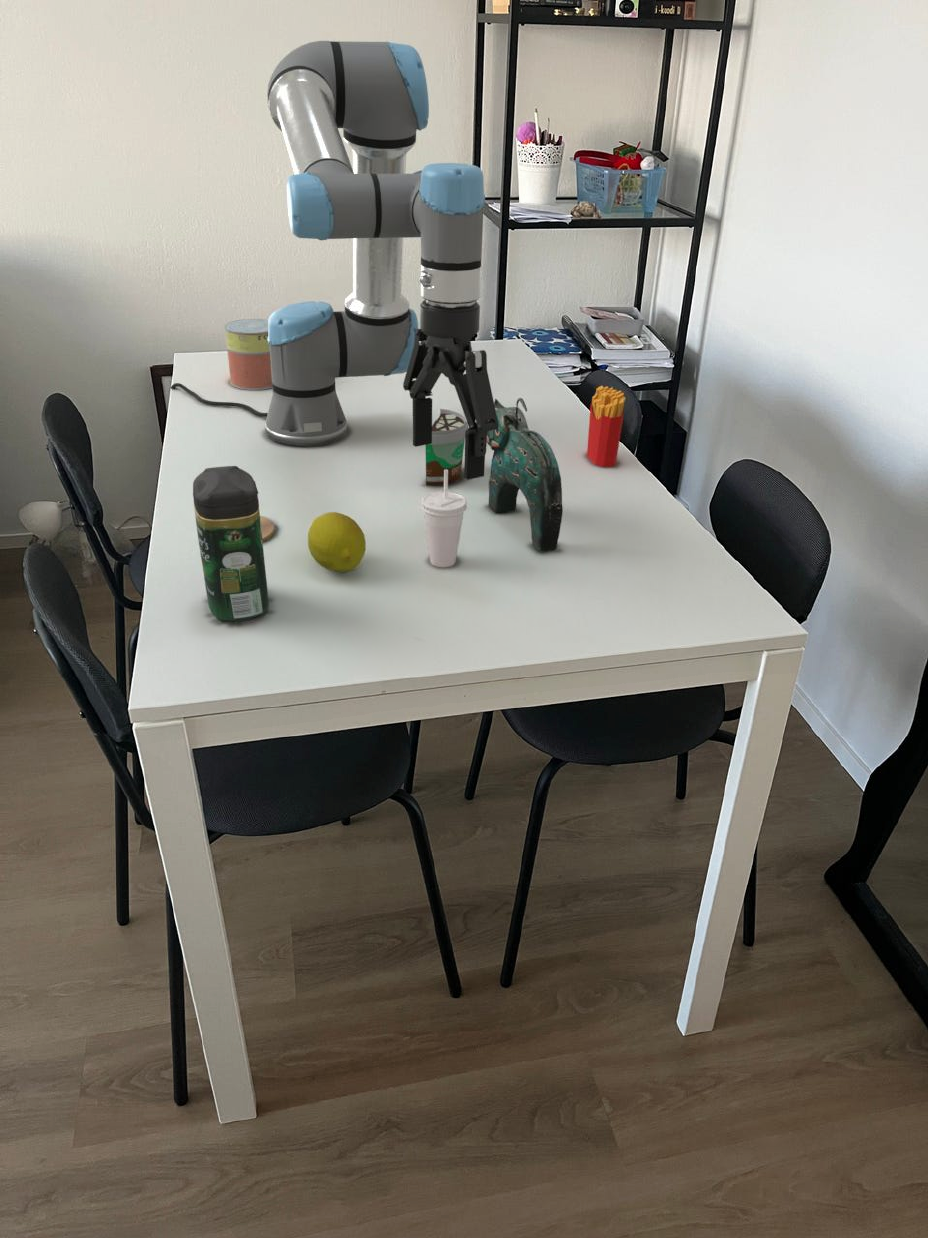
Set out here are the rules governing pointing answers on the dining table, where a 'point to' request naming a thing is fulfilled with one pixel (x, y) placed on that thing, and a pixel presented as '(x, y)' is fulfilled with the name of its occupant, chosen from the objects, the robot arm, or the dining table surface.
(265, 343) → the canned food
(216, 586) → the coffee jar
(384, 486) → the dining table surface
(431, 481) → the food container
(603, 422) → the french fries
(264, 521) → the cork coaster
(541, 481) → the ceramic cat
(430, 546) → the white drink cup
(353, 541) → the lemon
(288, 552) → the dining table surface
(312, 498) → the dining table surface
